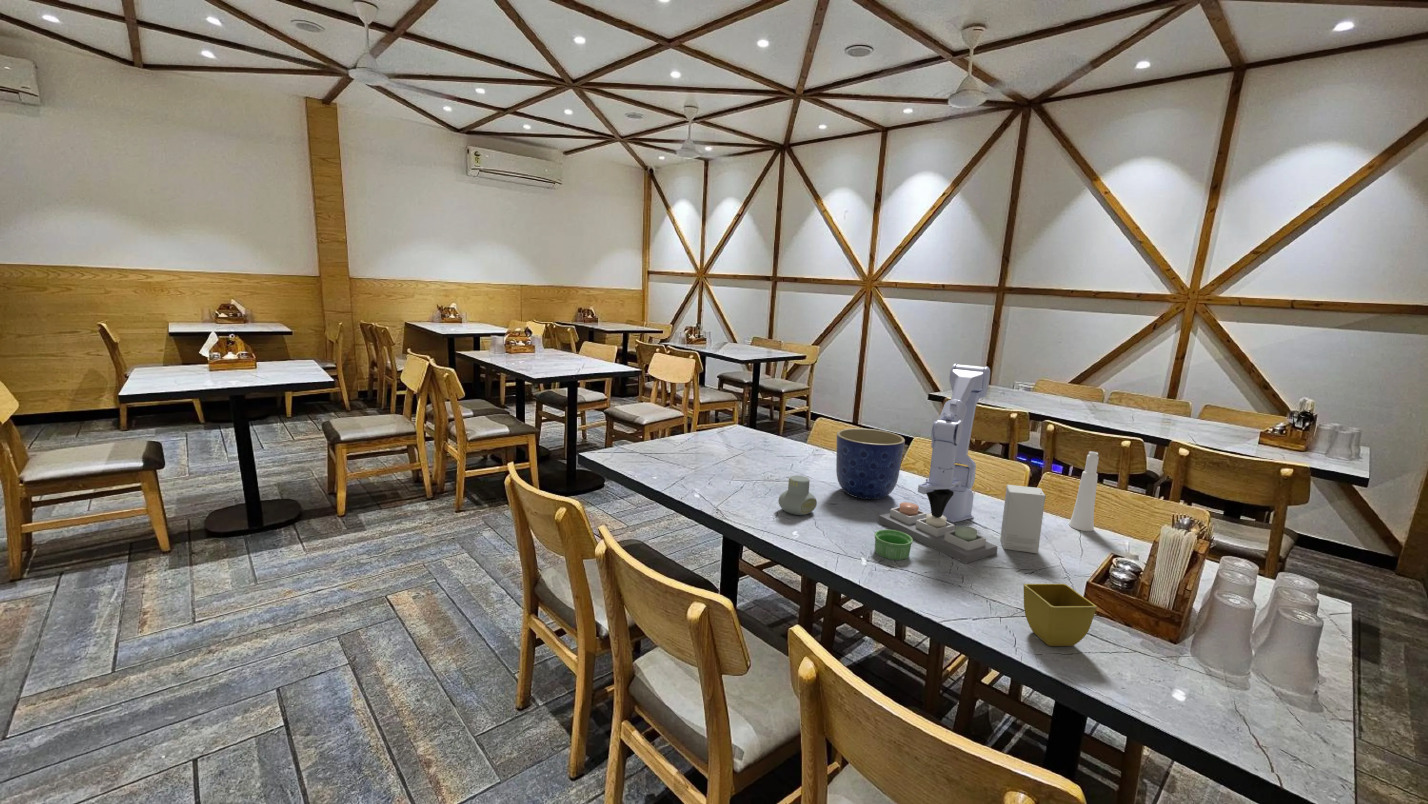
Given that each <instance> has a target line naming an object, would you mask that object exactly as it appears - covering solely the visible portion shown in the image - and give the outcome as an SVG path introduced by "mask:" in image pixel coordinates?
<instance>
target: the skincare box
mask: <svg viewBox="0 0 1428 804" xmlns="http://www.w3.org/2000/svg"><path fill="white" fill-rule="evenodd" d="M1046 497H1047V496H1046V494H1045V493H1044V492H1043V490H1042V488H1041V487H1033V486H1026V485H1025V486H1023V485H1014V484H1006V488H1005V499H1004V505H1003V512H1002V513H1003V515H1002V520H1001V521H1002V522H1001V528H1000V537H999V539H1000V543H1001V546H1002V548H1003V550H1008V551H1010V550H1011V551H1018V552H1025V553H1031V554H1038V553H1039V549H1040V539H1041V531H1042V524H1043V518H1044V517H1043V516H1044V510H1045V509H1044V508H1045V502H1046V501H1045V500H1046Z"/></svg>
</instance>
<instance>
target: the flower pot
mask: <svg viewBox="0 0 1428 804" xmlns="http://www.w3.org/2000/svg"><path fill="white" fill-rule="evenodd" d="M1097 607H1098V606H1097V605H1096V604H1095V603H1093V602H1092V601H1090V600H1089V599H1088V598H1086V597H1084V596H1082V595H1081V594H1080V593H1079V592H1077V591H1076V590H1075V589H1073V588H1072V587H1071V586H1069V585H1068V584H1066V583H1024V584H1023V609H1024V611H1023V612H1024V615H1025V618H1026V621H1027V623H1028V625H1029V627H1030V630H1031V631H1032V633H1033V634H1035V635H1036V636H1037V637H1038V638H1039V639H1040V640H1041V641H1042V642H1044V643H1045V644H1046V645H1047V646H1049V647H1064V646H1066V647H1068V646H1069V647H1073V646H1075V645H1076V644H1078V643H1080V642H1081V641H1082V640H1083V639H1084V638H1085V637H1086V636H1087V634H1088V632H1089V631H1090V628H1091V626H1092V622H1093V619H1094V618H1095V613H1096V611H1097Z"/></svg>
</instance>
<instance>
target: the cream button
mask: <svg viewBox="0 0 1428 804" xmlns="http://www.w3.org/2000/svg"><path fill="white" fill-rule="evenodd" d="M946 519H947V518H946V517H945V516H943V515H942V516H941V517H939V518H937V517H935V516H932V513H931V512H930V513H927V515H926V522H925V523H926V524H928V525H931V526H933V527H935V528H941V527H945V526H946V522H947V520H946Z"/></svg>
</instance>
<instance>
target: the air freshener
mask: <svg viewBox="0 0 1428 804" xmlns="http://www.w3.org/2000/svg"><path fill="white" fill-rule="evenodd" d="M787 483H788V485H787V486H788V487H787V490H785V491H783V492H782V493H781V494H780V495H779V497H778V500H777V501H778V502H777V503H778V505H779V507H780V508H781V509H782V510H783V511H784V512H787V513H788V514H790V515H795V516H806V515H808V514H810V513H812V512H814V511H815V509H816V507H817V504H818V502H817V499H816V497H815V496H814V495H813V493H811V492H810V479H809V478H808V477H807V476H803V475H791V476H790V477H788V482H787Z"/></svg>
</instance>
